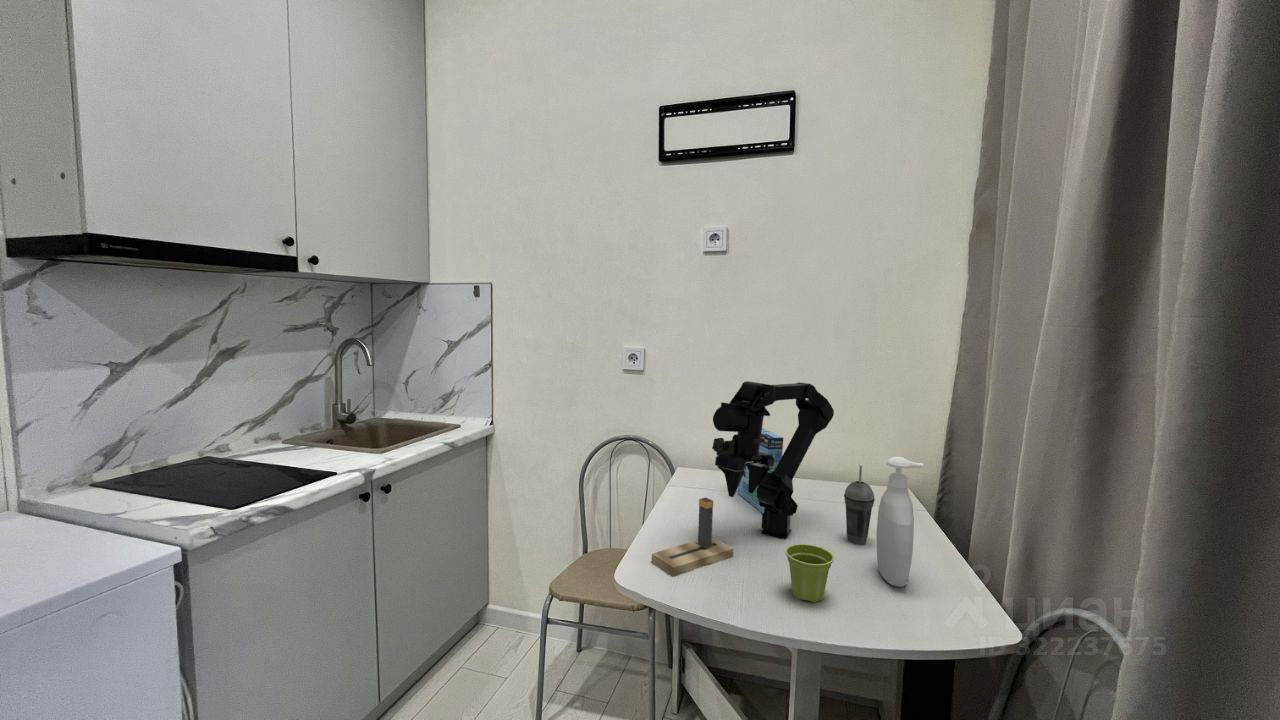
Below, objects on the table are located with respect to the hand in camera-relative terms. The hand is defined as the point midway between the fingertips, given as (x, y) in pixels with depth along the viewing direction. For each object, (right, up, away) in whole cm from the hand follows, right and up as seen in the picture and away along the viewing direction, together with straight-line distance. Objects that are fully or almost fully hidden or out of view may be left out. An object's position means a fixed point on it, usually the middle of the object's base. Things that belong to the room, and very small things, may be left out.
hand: (741, 494), depth 129 cm
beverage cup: (+30, -13, +4) cm, 33 cm away
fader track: (-13, -13, -8) cm, 20 cm away
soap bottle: (+31, -15, -15) cm, 37 cm away
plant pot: (+9, -15, -23) cm, 29 cm away
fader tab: (-10, -10, -6) cm, 16 cm away
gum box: (+11, -11, +30) cm, 34 cm away
